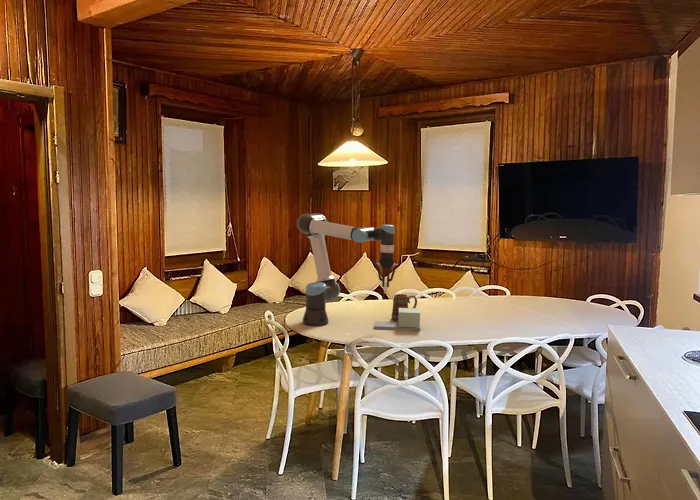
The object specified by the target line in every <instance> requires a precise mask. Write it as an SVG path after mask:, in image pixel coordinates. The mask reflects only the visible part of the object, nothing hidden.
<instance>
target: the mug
mask: <svg viewBox="0 0 700 500" xmlns="http://www.w3.org/2000/svg"><path fill="white" fill-rule="evenodd" d="M411 298H413V299H414V305H413V307H412V308H417V305H418V299H417V297H416V295H413V294H411V295H409V296H408V295H407V294H404V293H396V294H394V295H393V299H392V312H391V319H392V320H393V321H394V322H398V316H399V308H409V304H411V301H410V299H411Z"/></svg>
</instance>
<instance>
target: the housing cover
mask: <svg viewBox="0 0 700 500" xmlns="http://www.w3.org/2000/svg"><path fill="white" fill-rule="evenodd" d="M397 322H398V327H419V328H421V310H420V308H417V307H416V308H413V307H411V308H410V307H408V308H399V316H398V321H397Z"/></svg>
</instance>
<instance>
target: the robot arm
mask: <svg viewBox="0 0 700 500" xmlns="http://www.w3.org/2000/svg"><path fill="white" fill-rule="evenodd" d="M296 227H297V229H298V231H300V232H301V233H303V234H306V237H307V238H308V239H309V240H310V244H311V250H312V254H313V255H312V257H313V261H314V266H315V270H316V271H315V272H316V275H317V279H316V281H315V282H310V283H307V285H306V288H305V312H304V315H303V317H302V324H303V325H305V324H306V325H307V326H313V327H317V326H318V327H319V326H325V325H328V324H329V315H328V314H327V310H326V309H327V307H326V306H327V305H326V303H329V302H332V301H334V300H336V299H337V298H338V297H339V295H340V293H341V287H340V285H339V283H337V282H336V277H334V276H333V275H332V271H331V266H330V261H329V256H328V250H327V244H326V240H325V239H326V238H325V237H326V236H330V237H335V238H341V239H345V240H351V241H354V242H355V243H364V242H370V241H376V242H380V254H379V255H380V256H379V261H378V262H376V263H375V265H374V266H375V267H376V270H377V274H378V279H379V281H380V282H381V284H382V285H381V286H382V287H381V288H383V294H387V291H388V288H389V287H390V282H392V281H393V278H394V276H395V272H396V269H397V268H398V266H399V265H398V264H397V263H395V261H394V254H395V253H394V251H395V236H396V235H395V233H396V231H395V229H396V228H395V225H393V224H382V225H381V227H371V226H363V227H357V226H356V227H355V226H351V225H345V224H340V223H336V222H335V223H334V222H329V221H328V220H327V218H326V216H324V215H323V214H322V213H317V212H315V213H303V214H301V215H300V216H299V217H298V219H297V220H296ZM380 266H381V268H382V274H381V269H380ZM392 266H393V268H392ZM391 268H392V272H391V271H390V270H391ZM386 269H387V273H386ZM390 272H391V275H390ZM385 275H386V276H385ZM385 277H386V279H385ZM385 280H386V281H385Z"/></svg>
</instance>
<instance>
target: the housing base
mask: <svg viewBox="0 0 700 500" xmlns="http://www.w3.org/2000/svg"><path fill="white" fill-rule="evenodd" d="M373 326H374V327H373V328H374V330H389V331H390V330H391V331H393V330H395V331H396V330H397V331H398V330H399V331H418V332H421V327H420V328H419V327H398V321H377V320H376V321H375V322H374V325H373Z"/></svg>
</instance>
